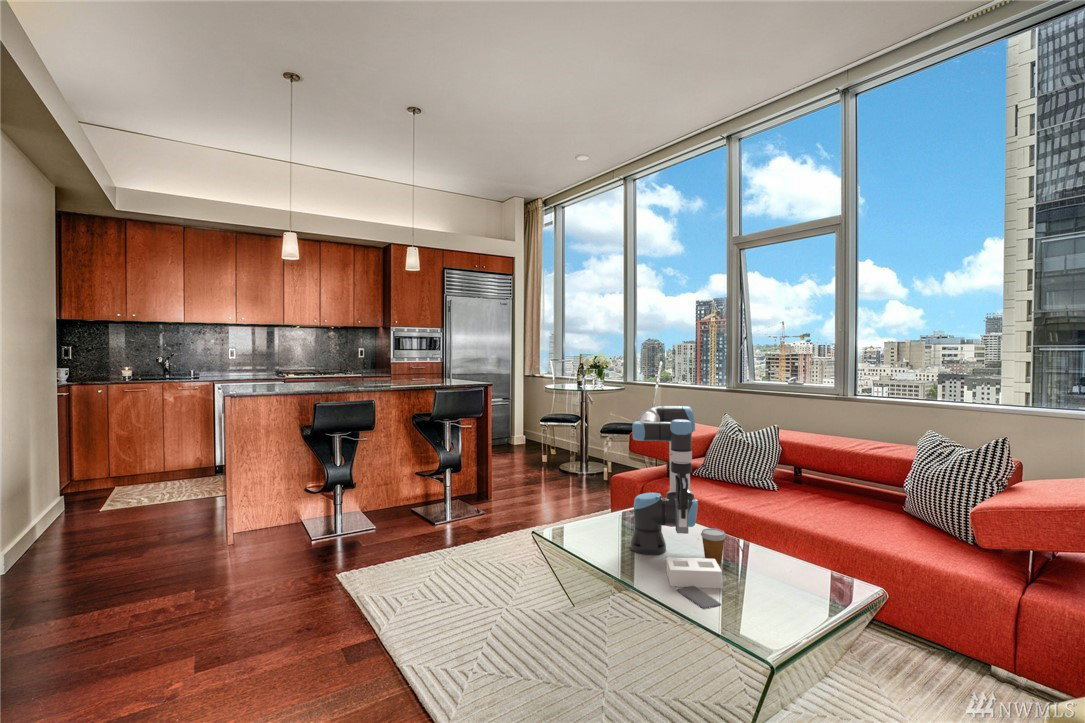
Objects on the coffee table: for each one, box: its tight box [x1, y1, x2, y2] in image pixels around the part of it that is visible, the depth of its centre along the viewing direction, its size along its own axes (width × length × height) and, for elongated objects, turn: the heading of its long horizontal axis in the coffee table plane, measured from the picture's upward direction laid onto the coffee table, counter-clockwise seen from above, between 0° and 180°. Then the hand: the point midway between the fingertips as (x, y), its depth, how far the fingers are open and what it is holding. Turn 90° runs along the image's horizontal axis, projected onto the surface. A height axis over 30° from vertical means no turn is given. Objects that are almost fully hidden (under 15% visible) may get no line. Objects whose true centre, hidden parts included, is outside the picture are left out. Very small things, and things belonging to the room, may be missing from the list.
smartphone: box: [676, 586, 722, 609], centre depth 178 cm, size 8×1×15 cm
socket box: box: [665, 556, 723, 589], centre depth 192 cm, size 12×18×6 cm
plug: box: [675, 498, 689, 535], centre depth 192 cm, size 4×4×12 cm
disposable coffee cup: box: [700, 527, 726, 565], centre depth 210 cm, size 10×10×12 cm
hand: (681, 524), depth 193 cm, fingers closed on plug, 4 cm apart
